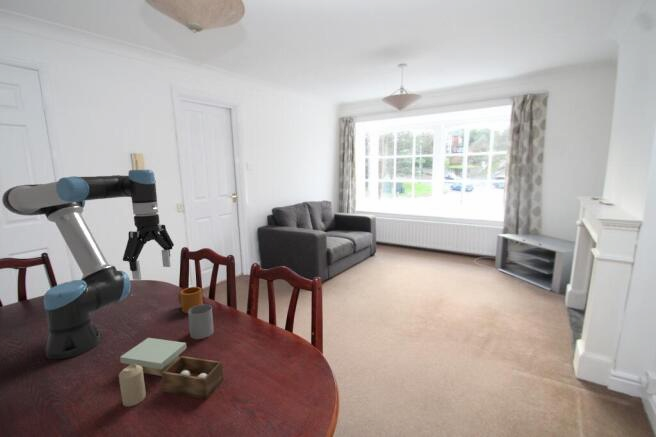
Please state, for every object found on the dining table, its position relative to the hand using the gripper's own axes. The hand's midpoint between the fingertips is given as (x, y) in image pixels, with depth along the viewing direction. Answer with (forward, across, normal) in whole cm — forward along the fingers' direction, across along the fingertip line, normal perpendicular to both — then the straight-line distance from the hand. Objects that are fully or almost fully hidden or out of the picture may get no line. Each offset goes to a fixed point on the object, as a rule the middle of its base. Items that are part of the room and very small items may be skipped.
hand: (152, 272), depth 108 cm
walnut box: (+27, -18, -28) cm, 43 cm away
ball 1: (+24, -18, -25) cm, 39 cm away
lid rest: (+27, -13, -10) cm, 31 cm away
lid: (+23, -13, -10) cm, 28 cm away
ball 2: (+24, -18, -31) cm, 43 cm away
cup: (+27, +8, -12) cm, 31 cm away
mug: (+27, +26, +7) cm, 38 cm away
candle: (+27, -26, -15) cm, 41 cm away
